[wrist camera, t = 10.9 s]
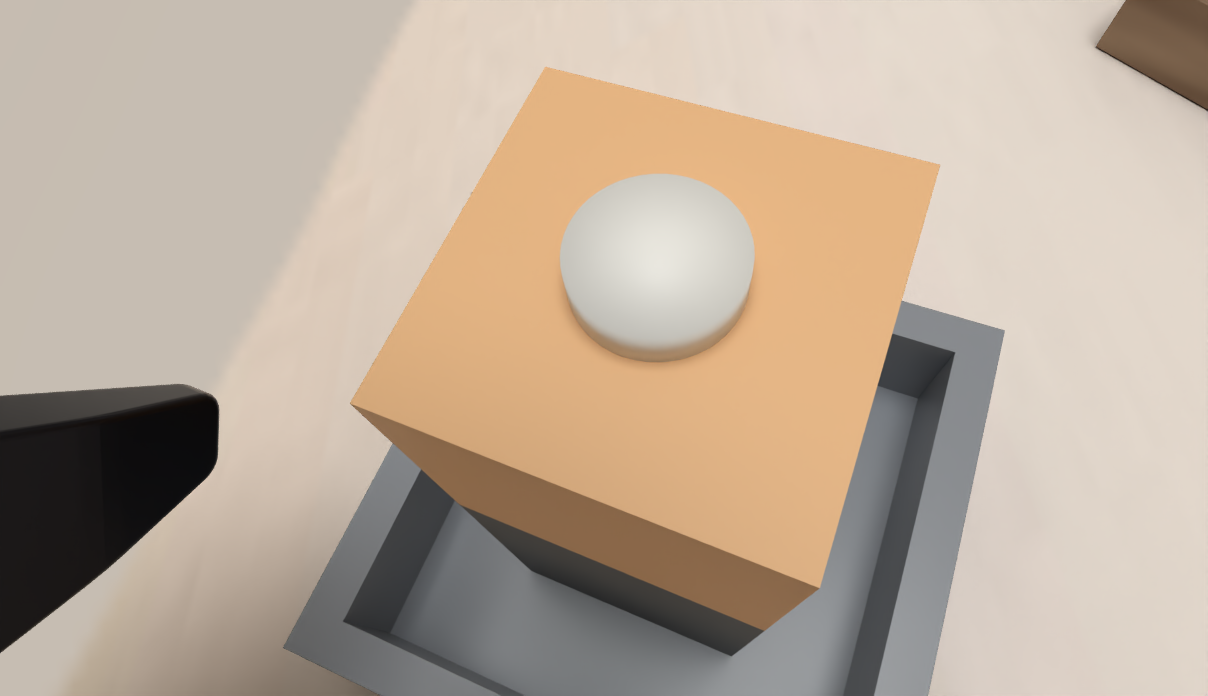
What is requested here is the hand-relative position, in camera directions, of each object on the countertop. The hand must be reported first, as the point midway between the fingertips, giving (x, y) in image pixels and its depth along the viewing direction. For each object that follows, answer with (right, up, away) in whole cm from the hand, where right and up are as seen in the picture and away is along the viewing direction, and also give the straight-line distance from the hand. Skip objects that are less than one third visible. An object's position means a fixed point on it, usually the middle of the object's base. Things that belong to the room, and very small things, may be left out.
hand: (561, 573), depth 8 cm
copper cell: (+2, -1, +9) cm, 9 cm away
